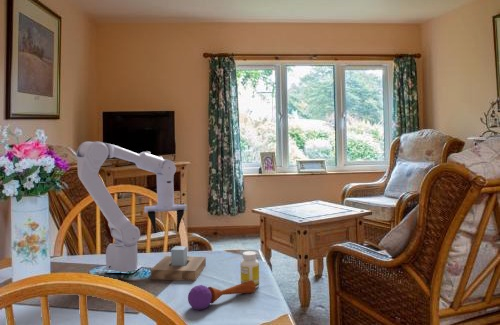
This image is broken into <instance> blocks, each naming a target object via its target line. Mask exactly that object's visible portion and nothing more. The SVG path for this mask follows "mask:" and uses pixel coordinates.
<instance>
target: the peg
mask: <svg viewBox="0 0 500 325" xmlns="http://www.w3.org/2000/svg"><path fill="white" fill-rule="evenodd" d="M170 256H171V261H172V266H186V265H187V257H188V246H187V245H186V246H182V245H175V246H173V247H172V248H171V249H170Z"/></svg>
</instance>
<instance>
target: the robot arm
mask: <svg viewBox="0 0 500 325" xmlns="http://www.w3.org/2000/svg"><path fill="white" fill-rule="evenodd" d="M151 153H152V152H151V151H148V150H146V151H142V152H140V153H139V152H138V153H137V152H134V151H132V150H129V149H126V148H123V147H121V146H119V145H115V144H114V143H113V144H111V143H107V142H103V141H98V140H97V141H89V140H88V141H84V142H83V141H82V143H80V145H79V146H78V148H77V151H76V153H75V158H76V162H77V163H76V164H77V177H78V179H79V181H80V182H81V183H82V185H83V186H84V188H85V189H86V191H87V192H88V194H89V196H90V197H91V198H92V200H93V201H94V203H95V204H96V205H97V207H98V209H99V210H100V212H101V213H102V215H103V216H104V217H105V220H106V221H107V225H108V227H109V230H110V235H111V237H112V238H113V239H114V241H113V243H109V244H108V245H107V247H106V250H105V265H106V267H105V269H106V270H115V271H120V272H128V271H133V270H138V269H139V270H140V269H142V267H143V265H142V264H139V263H138V257H139V256H138V242H139V240H140V238H141V231H140V228H138V226H136V225H134V224H133V223H132V221H131V220H130V219H128V218H127V216H125V215H124V213H123V212H122V210H121V209H120V207H119V206H118V204H117V202H116V201H115V199H114V198H113V196H112V194H111V193H110V192H109V190H108V188H107V187H106V185H105V184H104V183H103V181H102V179H101V178H100V176H99V171H100V169H101V167H102V166H103V164H104V163H105V161H106V160H107V159H112V158H117V159H119V160H124V161H128V162H131V163H134V164H135V166H136V167H137V169H139V170H140V169H141V170H144V171H146V172H151V173H153V174H155V175H156V195H157V196H156V198H157V201H156V203H157V205H147V206H146V205H145V206H144V214H147V216H148V218H149V221H150V223H151V224H152V225H151V226H152V228H153V232H154V234H157V218H156V217H157V216H156V215H157V214H156V213H158V212H159V213H160V212H176V233H177V232H178V233H179V232H180V226H181V222H182V218H183V217H184V214H185V212H186V211H187V210H188V205H187V204H182V203H181V204H179V203H177V204H176V203H175V195H174V194H175V191H174V190H175V189H174V188H175V187H174V178H175V176H174V175H175V173H176V171H177V166H176V165H175V163H174V161H173V160H172V159H167V158H166V159H164V158H163V156H161V155H159V156H157V155H154V154H151ZM110 267H111V268H110ZM139 270H138V271H139Z"/></svg>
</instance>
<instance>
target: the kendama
mask: <svg viewBox="0 0 500 325" xmlns="http://www.w3.org/2000/svg"><path fill="white" fill-rule="evenodd" d="M256 289H257V288H256V286H255V283H254V282H253V281H252V280H251V281H248V282H245V283H242V284H241V283H239V284H237V285H234V286H231V287H228V288H225V289H223V290H221V289H219V288H215V287H212V286H208V287H207V286H205V285H203V284H199V285H195V286H192V288H191V289H190V290H189V292H188V295H187V302H188V304H189V306H190V307H191V308H192V309H194V310H198V311H201V310H202V311H203V310H205V309H207V308H208V306H210V305H211V304H214V303H215V302H216V301H217V300H219V299H220V297H222V296H226V295H237V294H252V293H255V292H256Z"/></svg>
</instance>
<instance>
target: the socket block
mask: <svg viewBox="0 0 500 325" xmlns="http://www.w3.org/2000/svg"><path fill="white" fill-rule="evenodd" d="M206 258H207V257H206V256H187V265H186V266H172V261H171V255H164V257H162V258H161V260H159V262H157V263H156V264H155V265H154V266H153V267H152V268H151V269H150V279H151V280H164V281H165V280H167V281H169V280H170V281H193V282H194V281H195V282H196V281H197V279H198V277H199V276H200V275H201V273H202V272H203V271H204V269H205V268H206V266H207V265H206V264H207V262H206V260H207V259H206Z"/></svg>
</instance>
